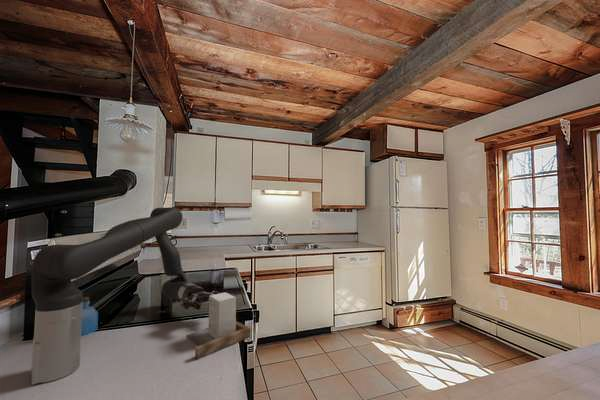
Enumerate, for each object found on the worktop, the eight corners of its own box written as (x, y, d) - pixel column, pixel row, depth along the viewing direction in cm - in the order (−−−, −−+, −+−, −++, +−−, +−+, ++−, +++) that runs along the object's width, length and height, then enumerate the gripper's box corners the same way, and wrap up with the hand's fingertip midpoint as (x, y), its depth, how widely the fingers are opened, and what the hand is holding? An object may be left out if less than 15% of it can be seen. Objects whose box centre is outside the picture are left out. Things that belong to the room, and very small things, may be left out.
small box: (236, 336, 87) (236, 297, 88) (218, 342, 83) (218, 301, 83) (225, 328, 93) (225, 291, 94) (207, 333, 89) (208, 295, 89)
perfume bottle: (65, 335, 88) (67, 300, 88) (85, 328, 94) (87, 294, 94) (77, 338, 86) (79, 302, 86) (97, 330, 92) (98, 296, 92)
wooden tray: (197, 359, 74) (197, 348, 74) (174, 340, 85) (174, 331, 85) (250, 337, 87) (250, 328, 87) (224, 323, 98) (224, 315, 98)
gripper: (173, 288, 99) (192, 297, 88) (208, 281, 110) (228, 289, 98) (172, 308, 99) (191, 320, 88) (207, 299, 109) (228, 309, 98)
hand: (211, 303), depth 93 cm, fingers open, 8 cm apart
